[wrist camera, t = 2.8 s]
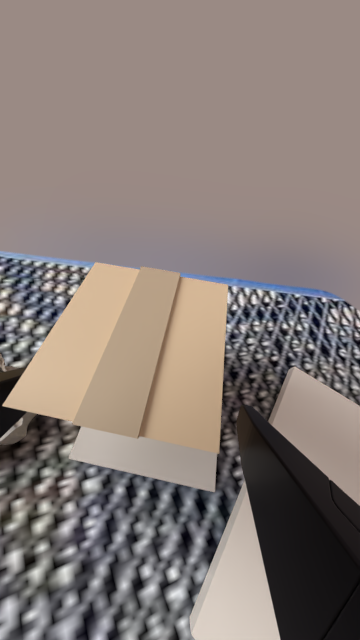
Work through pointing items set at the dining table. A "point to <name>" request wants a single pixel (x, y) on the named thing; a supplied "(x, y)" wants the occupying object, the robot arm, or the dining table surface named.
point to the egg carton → (21, 426)
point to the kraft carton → (134, 358)
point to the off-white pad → (240, 533)
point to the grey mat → (147, 458)
